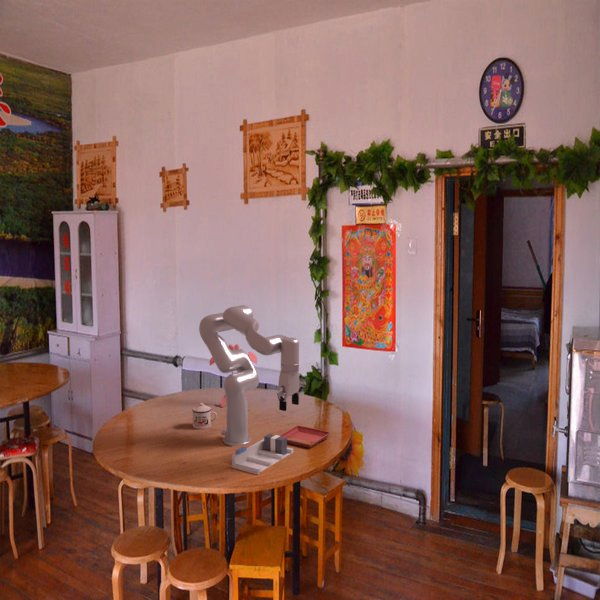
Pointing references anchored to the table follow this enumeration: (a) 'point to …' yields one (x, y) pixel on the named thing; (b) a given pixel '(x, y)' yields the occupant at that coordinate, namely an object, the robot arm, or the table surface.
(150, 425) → the table surface
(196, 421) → the teacup with lid
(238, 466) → the white ribbed panel
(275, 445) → the block
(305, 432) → the plant saucer
